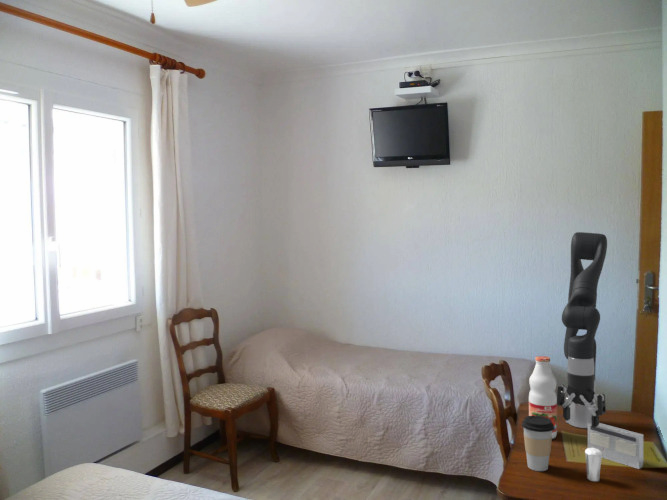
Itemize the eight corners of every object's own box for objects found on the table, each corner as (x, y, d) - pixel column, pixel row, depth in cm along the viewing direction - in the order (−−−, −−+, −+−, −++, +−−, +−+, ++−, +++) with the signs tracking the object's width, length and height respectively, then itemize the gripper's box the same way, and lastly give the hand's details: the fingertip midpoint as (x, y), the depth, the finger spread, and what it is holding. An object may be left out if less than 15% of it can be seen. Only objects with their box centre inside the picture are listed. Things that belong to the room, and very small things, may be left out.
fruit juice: (552, 430, 204) (552, 354, 203) (560, 440, 195) (560, 360, 193) (525, 429, 205) (525, 354, 204) (532, 439, 196) (532, 360, 194)
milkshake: (606, 483, 163) (607, 449, 162) (587, 482, 164) (587, 448, 163) (602, 476, 167) (602, 443, 167) (583, 475, 168) (583, 442, 168)
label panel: (587, 453, 184) (587, 423, 183) (592, 450, 186) (592, 420, 185) (638, 469, 171) (638, 437, 171) (643, 466, 173) (643, 434, 173)
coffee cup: (530, 458, 181) (530, 412, 180) (559, 466, 174) (559, 419, 173) (516, 467, 174) (516, 420, 173) (545, 477, 167) (545, 427, 167)
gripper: (610, 373, 168) (609, 426, 169) (564, 364, 179) (564, 414, 180) (598, 378, 163) (597, 433, 164) (552, 369, 174) (552, 420, 175)
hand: (580, 423), depth 172 cm, fingers open, 8 cm apart
